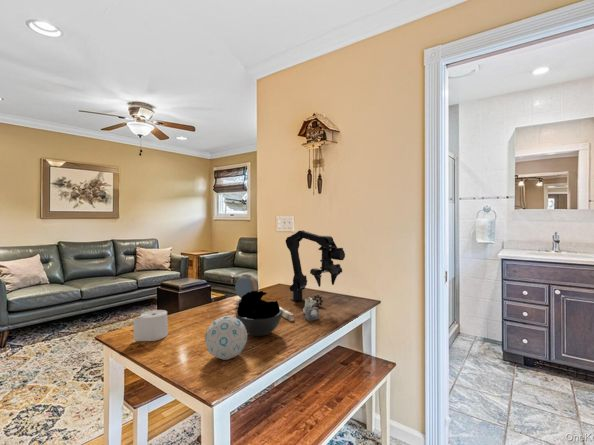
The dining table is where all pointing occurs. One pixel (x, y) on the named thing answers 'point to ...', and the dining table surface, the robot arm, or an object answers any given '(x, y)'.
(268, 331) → the bowl of black rocks
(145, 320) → the toilet tissue
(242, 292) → the alarm clock
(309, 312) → the pipe stand
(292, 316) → the fence
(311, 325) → the dining table surface
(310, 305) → the valve
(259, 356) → the dining table surface
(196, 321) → the dining table surface
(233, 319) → the puzzle ball
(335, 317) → the dining table surface
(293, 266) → the robot arm
